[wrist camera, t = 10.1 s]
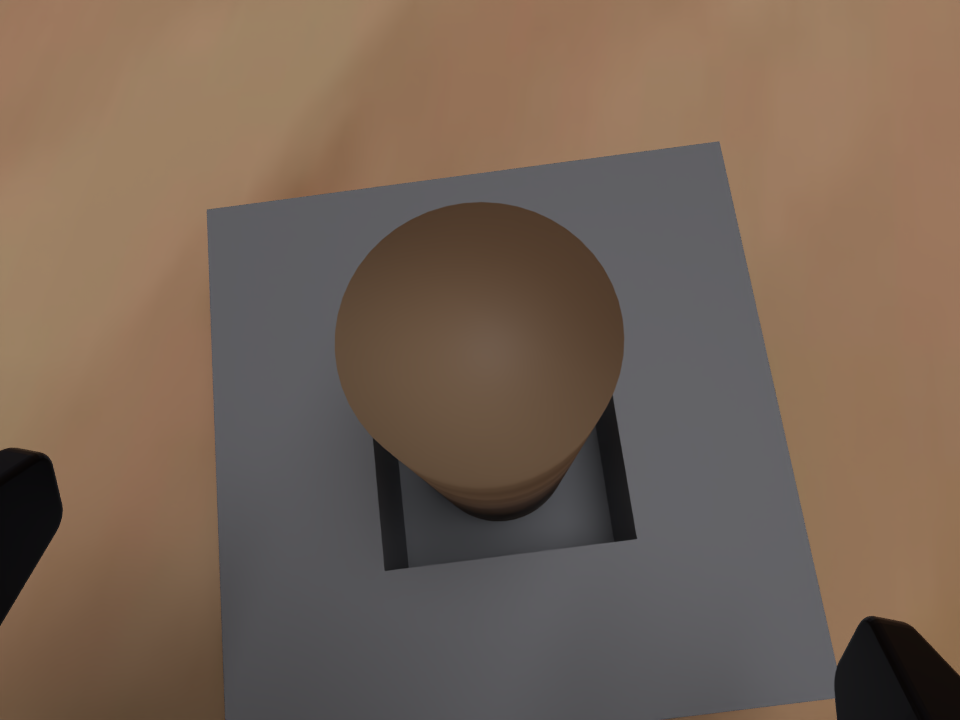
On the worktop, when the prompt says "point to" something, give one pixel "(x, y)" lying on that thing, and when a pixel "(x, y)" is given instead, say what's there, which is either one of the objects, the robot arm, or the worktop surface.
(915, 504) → the worktop surface
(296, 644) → the socket block
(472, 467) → the walnut pin
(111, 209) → the worktop surface
